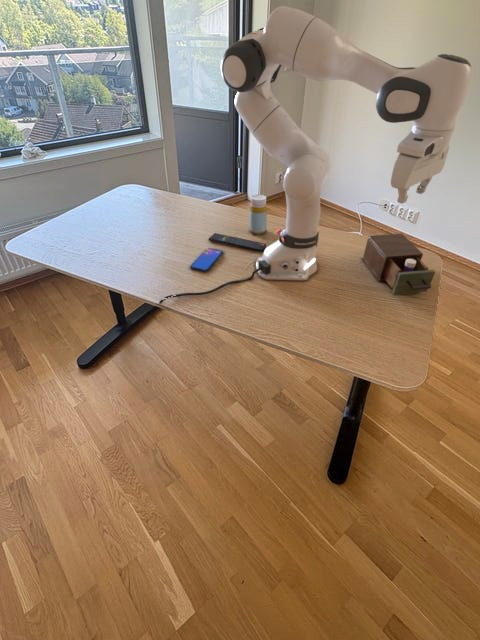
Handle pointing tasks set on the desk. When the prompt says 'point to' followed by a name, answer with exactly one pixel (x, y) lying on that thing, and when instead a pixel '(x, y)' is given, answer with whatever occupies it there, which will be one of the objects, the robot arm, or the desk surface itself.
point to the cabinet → (387, 252)
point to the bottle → (258, 214)
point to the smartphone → (206, 259)
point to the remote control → (238, 242)
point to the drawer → (408, 276)
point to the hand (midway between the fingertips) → (411, 197)
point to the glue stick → (409, 265)
